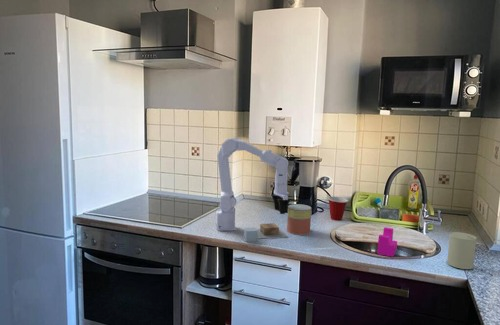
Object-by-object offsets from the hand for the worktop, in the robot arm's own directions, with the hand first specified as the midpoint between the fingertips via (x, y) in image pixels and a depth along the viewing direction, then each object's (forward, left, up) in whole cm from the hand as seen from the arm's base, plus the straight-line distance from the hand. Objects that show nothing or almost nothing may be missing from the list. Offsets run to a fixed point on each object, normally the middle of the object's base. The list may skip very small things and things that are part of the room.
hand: (279, 211), depth 178 cm
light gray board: (-5, -1, -10) cm, 11 cm away
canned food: (+10, 0, -10) cm, 14 cm away
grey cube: (-16, -9, -10) cm, 21 cm away
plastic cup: (+38, +16, -10) cm, 43 cm away
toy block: (+40, -29, -11) cm, 50 cm away
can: (+58, -49, -10) cm, 76 cm away
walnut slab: (-5, -1, -10) cm, 11 cm away
